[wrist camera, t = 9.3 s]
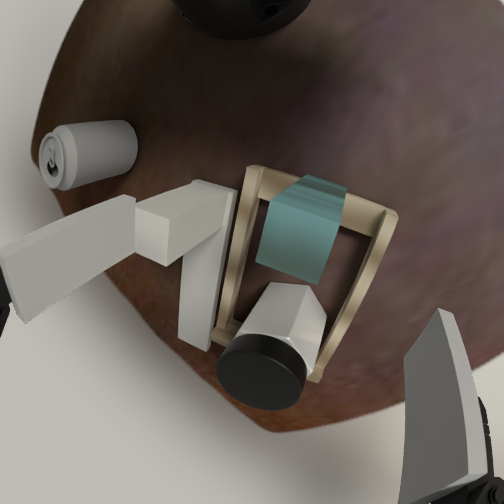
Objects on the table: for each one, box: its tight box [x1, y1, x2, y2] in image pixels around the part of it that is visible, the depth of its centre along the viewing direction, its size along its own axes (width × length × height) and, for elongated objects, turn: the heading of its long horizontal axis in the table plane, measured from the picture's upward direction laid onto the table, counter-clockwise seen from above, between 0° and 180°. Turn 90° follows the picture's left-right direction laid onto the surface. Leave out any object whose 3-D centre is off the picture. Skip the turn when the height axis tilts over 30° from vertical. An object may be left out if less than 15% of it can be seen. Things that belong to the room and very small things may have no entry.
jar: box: [215, 282, 327, 411], centre depth 27 cm, size 9×8×12 cm
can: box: [39, 120, 138, 191], centre depth 27 cm, size 8×8×12 cm
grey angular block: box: [135, 179, 238, 352], centre depth 30 cm, size 24×5×11 cm, turn 167°
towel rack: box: [210, 164, 399, 383], centre depth 25 cm, size 22×14×12 cm
